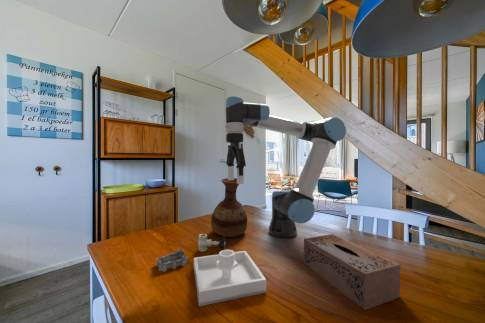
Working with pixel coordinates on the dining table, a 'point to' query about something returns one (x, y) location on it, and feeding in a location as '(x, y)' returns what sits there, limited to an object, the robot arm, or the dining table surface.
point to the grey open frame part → (172, 260)
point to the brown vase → (229, 213)
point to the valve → (210, 242)
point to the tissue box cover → (353, 270)
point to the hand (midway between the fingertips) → (235, 181)
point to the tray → (239, 285)
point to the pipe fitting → (226, 263)
